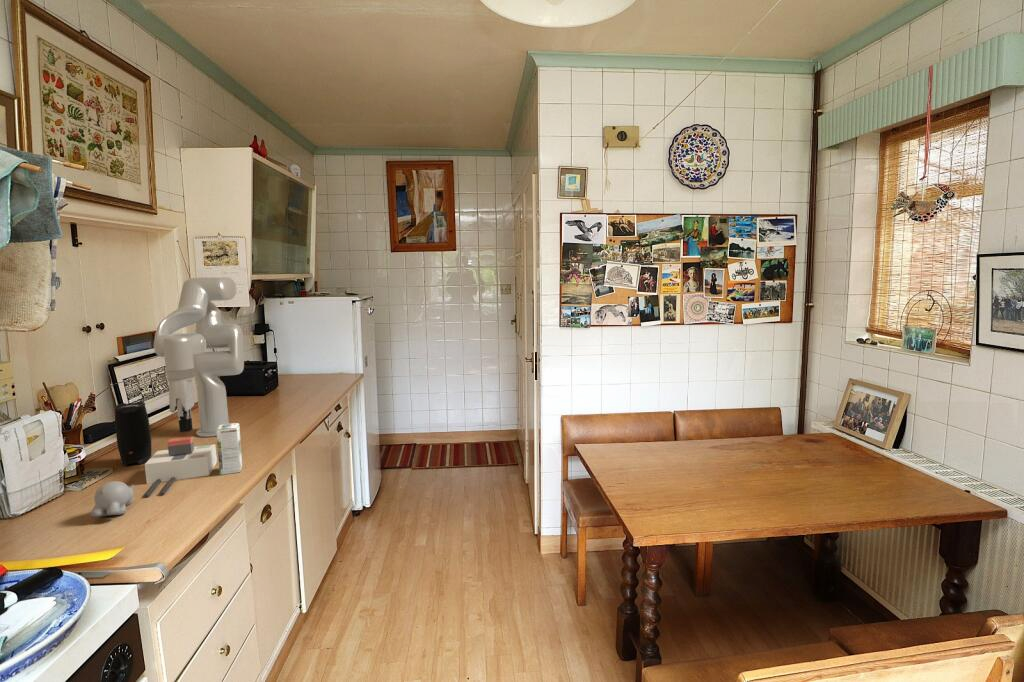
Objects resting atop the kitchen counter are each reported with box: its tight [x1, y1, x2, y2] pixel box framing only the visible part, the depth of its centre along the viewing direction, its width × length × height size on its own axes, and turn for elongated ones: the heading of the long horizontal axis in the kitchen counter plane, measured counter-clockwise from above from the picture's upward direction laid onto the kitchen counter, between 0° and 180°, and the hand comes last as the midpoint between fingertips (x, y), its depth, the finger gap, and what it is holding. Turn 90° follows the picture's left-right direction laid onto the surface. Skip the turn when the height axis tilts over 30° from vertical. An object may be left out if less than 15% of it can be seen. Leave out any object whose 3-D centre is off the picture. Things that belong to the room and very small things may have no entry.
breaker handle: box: [167, 436, 195, 456], centre depth 154 cm, size 3×6×4 cm, turn 110°
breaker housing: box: [144, 443, 218, 485], centre depth 155 cm, size 12×16×6 cm
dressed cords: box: [144, 477, 176, 498], centre depth 143 cm, size 11×5×1 cm, turn 20°
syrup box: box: [216, 422, 243, 476], centre depth 155 cm, size 6×6×14 cm
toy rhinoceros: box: [90, 480, 135, 518], centre depth 130 cm, size 7×12×8 cm, turn 6°
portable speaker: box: [114, 401, 152, 467], centre depth 163 cm, size 9×9×20 cm
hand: (186, 430), depth 161 cm, fingers closed
